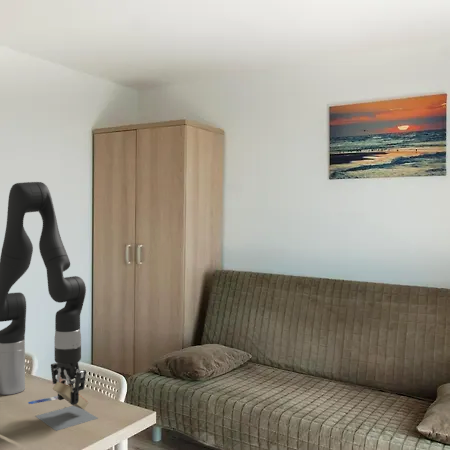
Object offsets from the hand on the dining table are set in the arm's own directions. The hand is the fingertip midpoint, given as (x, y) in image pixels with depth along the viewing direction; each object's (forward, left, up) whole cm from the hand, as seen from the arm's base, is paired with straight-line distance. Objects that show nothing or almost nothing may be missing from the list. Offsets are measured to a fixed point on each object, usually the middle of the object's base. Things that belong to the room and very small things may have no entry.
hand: (68, 401), depth 154 cm
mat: (0, 0, -5) cm, 5 cm away
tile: (-1, +5, -2) cm, 5 cm away
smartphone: (-16, +3, -6) cm, 17 cm away
